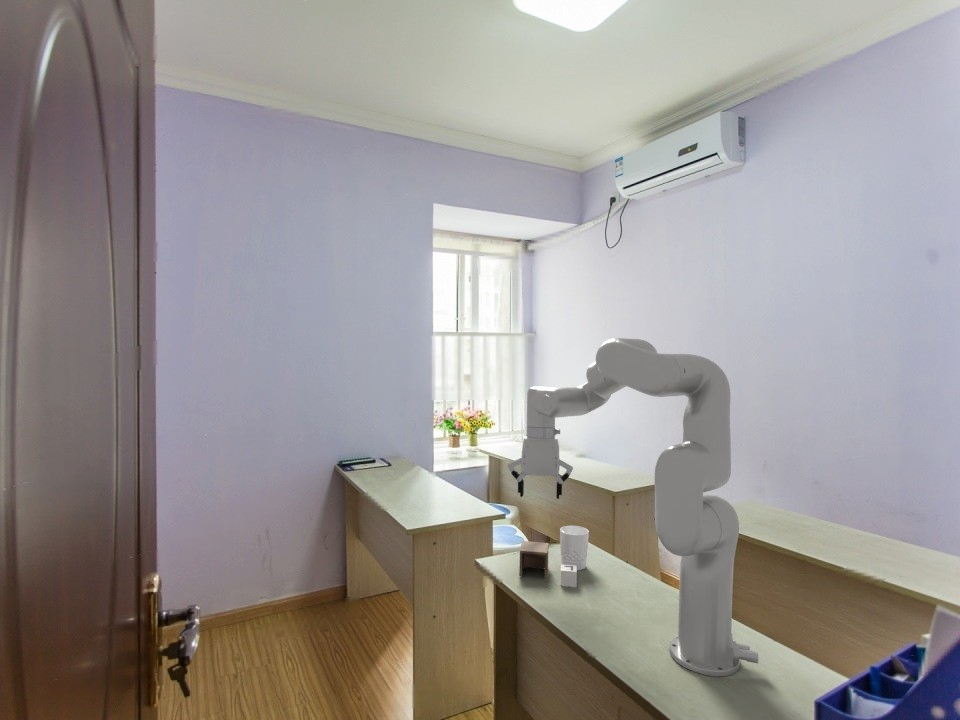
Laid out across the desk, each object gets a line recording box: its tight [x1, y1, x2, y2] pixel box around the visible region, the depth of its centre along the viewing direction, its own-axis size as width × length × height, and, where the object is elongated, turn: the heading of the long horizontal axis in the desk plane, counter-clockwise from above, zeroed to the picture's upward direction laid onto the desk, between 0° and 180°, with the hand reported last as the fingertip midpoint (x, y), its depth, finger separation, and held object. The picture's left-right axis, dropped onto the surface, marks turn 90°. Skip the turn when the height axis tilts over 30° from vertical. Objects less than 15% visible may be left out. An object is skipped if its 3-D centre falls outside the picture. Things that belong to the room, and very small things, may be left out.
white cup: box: [559, 525, 590, 571], centre depth 147 cm, size 8×8×10 cm
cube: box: [560, 564, 578, 588], centre depth 136 cm, size 4×4×4 cm
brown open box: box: [518, 540, 549, 580], centre depth 142 cm, size 7×7×7 cm
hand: (539, 496), depth 142 cm, fingers open, 9 cm apart
